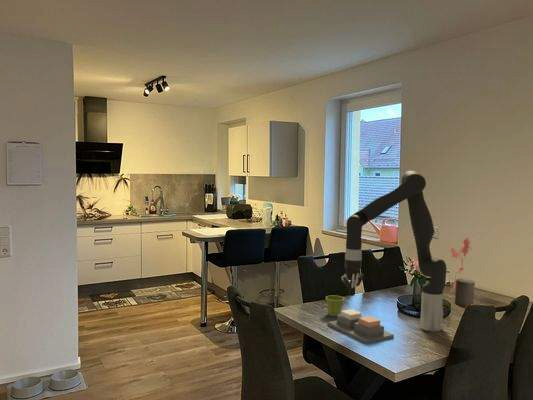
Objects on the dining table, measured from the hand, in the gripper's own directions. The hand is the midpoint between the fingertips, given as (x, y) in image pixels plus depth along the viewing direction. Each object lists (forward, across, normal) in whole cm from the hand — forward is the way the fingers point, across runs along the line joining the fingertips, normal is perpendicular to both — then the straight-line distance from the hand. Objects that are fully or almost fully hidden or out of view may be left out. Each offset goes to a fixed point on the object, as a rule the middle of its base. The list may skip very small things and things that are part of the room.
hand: (351, 295), depth 207 cm
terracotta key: (+11, 0, -12) cm, 16 cm away
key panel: (+15, 0, -6) cm, 16 cm away
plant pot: (+15, +5, +18) cm, 24 cm away
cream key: (+11, 0, 0) cm, 11 cm away
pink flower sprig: (+15, +106, +17) cm, 108 cm away
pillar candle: (+15, +84, +1) cm, 85 cm away
